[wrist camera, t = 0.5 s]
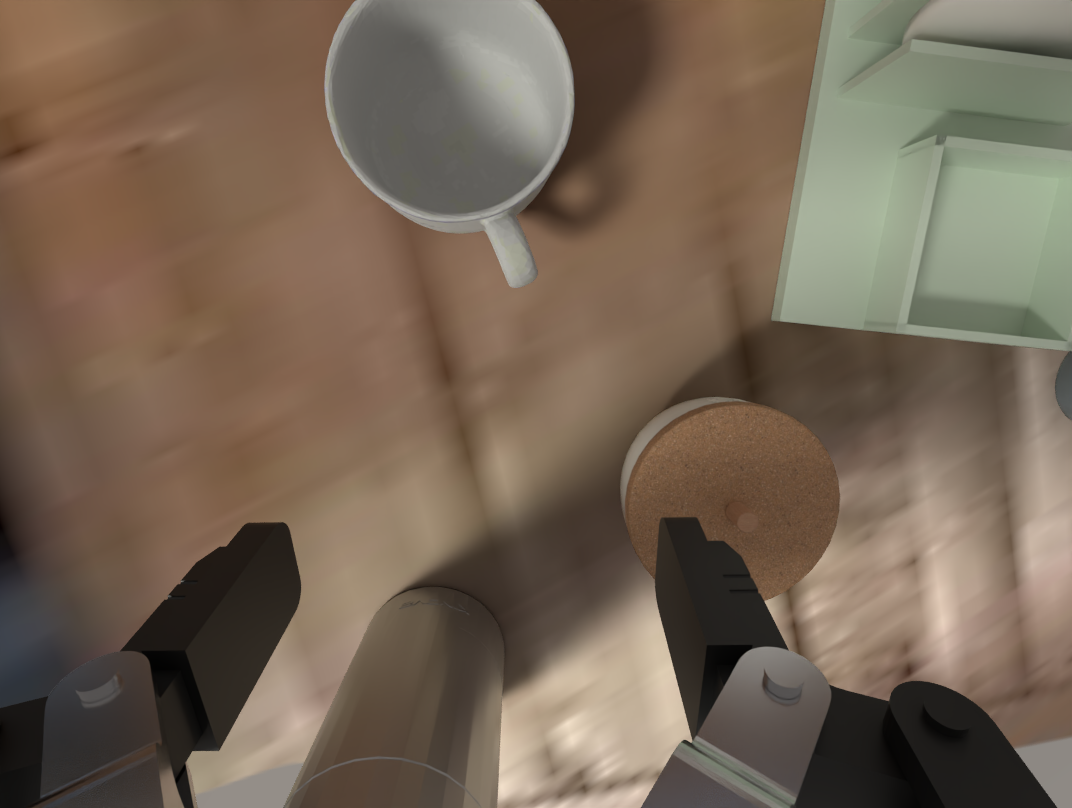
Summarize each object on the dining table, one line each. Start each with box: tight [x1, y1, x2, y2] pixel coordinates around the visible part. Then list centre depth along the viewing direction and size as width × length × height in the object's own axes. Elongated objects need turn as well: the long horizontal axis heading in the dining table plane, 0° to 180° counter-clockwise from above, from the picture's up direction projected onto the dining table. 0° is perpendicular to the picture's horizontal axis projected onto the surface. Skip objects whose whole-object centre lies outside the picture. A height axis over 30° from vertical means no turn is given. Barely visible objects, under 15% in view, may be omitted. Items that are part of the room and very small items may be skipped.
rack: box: [771, 0, 1072, 351], centre depth 30 cm, size 19×15×7 cm
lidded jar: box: [620, 397, 840, 601], centre depth 32 cm, size 11×11×9 cm
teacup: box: [324, 0, 575, 288], centre depth 29 cm, size 14×11×8 cm
